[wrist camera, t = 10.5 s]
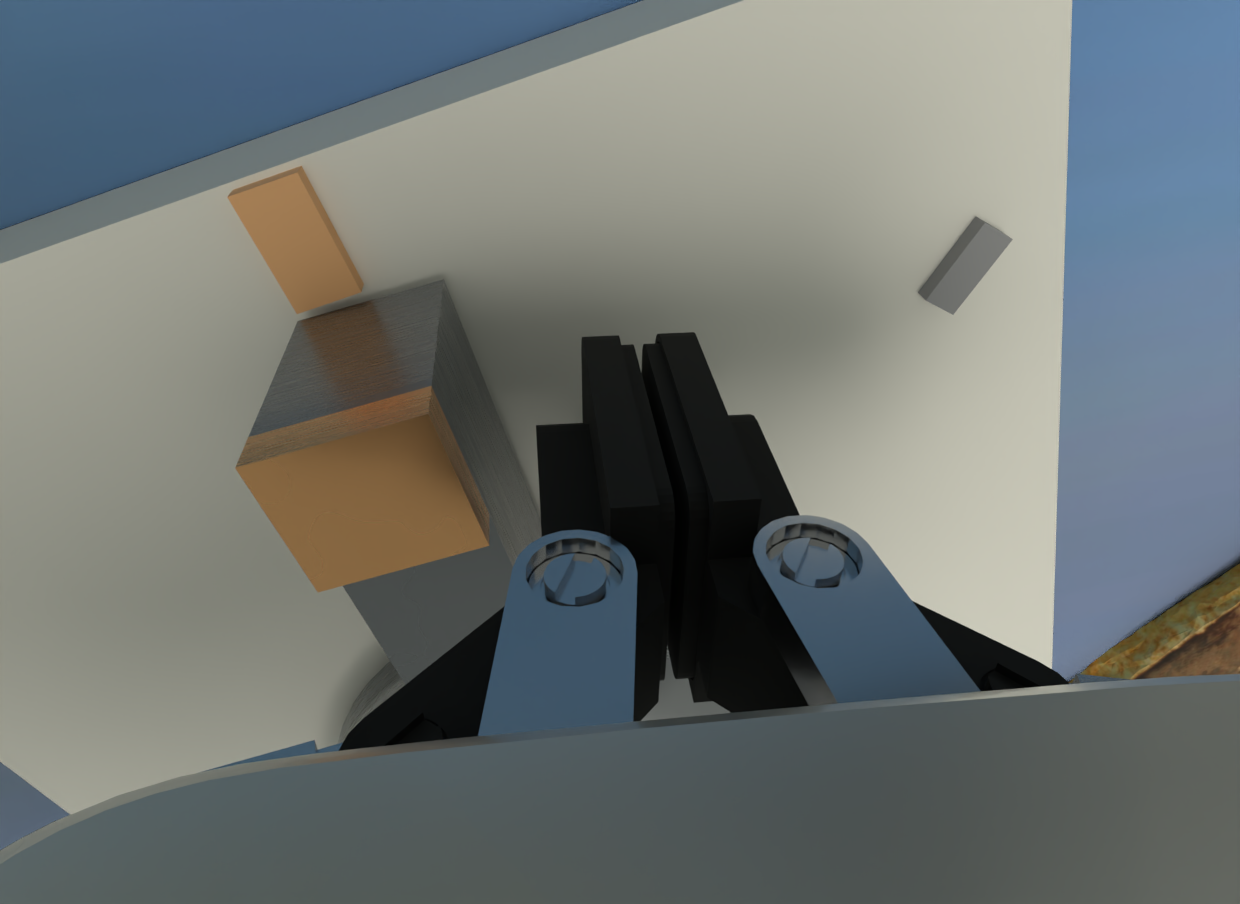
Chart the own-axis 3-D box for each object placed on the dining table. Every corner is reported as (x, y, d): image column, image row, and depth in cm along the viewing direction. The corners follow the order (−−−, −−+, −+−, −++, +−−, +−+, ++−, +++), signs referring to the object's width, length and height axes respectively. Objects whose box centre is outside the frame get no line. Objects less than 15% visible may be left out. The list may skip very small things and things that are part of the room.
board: (412, 987, 30) (405, 1079, 28) (-312, 341, 14) (-469, 434, 12) (1005, 821, 29) (1049, 903, 26) (980, -121, 12) (1089, -118, 10)
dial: (840, 824, 22) (895, 975, 19) (445, 925, 22) (437, 1088, 19) (739, 191, 12) (826, 302, 9) (14, 398, 12) (-141, 573, 9)
